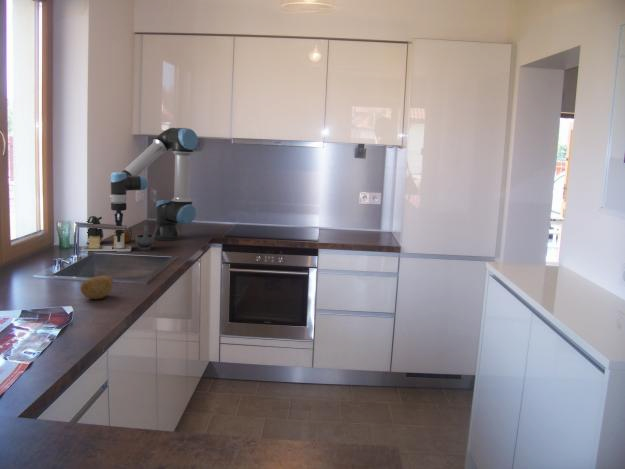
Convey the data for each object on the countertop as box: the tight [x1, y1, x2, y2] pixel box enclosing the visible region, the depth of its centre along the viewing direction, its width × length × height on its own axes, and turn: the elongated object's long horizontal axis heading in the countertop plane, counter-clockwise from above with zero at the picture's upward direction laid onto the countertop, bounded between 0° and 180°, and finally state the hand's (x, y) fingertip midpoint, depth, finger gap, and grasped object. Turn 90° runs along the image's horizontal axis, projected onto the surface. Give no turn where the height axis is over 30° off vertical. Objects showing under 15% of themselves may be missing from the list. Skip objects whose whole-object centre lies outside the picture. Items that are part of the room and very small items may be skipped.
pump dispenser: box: [86, 215, 104, 243], centre depth 303 cm, size 10×10×15 cm
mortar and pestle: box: [134, 225, 155, 251], centre depth 296 cm, size 11×9×12 cm
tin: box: [113, 227, 133, 244], centre depth 311 cm, size 15×3×8 cm, turn 168°
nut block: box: [113, 233, 126, 248], centre depth 290 cm, size 5×5×7 cm
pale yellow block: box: [88, 236, 101, 249], centre depth 286 cm, size 5×5×7 cm
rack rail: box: [80, 245, 132, 253], centre depth 289 cm, size 24×9×1 cm, turn 106°
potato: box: [80, 274, 114, 300], centre depth 202 cm, size 10×14×8 cm
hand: (119, 246), depth 290 cm, fingers closed on nut block, 5 cm apart
